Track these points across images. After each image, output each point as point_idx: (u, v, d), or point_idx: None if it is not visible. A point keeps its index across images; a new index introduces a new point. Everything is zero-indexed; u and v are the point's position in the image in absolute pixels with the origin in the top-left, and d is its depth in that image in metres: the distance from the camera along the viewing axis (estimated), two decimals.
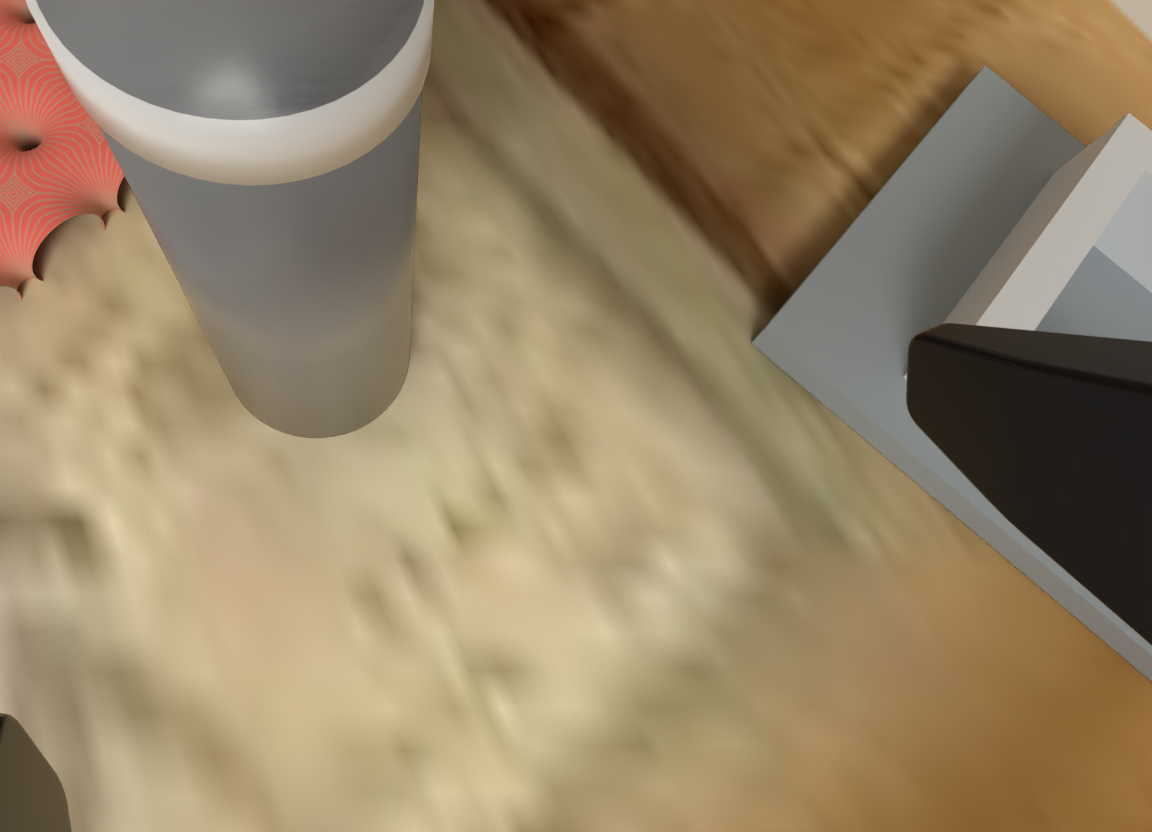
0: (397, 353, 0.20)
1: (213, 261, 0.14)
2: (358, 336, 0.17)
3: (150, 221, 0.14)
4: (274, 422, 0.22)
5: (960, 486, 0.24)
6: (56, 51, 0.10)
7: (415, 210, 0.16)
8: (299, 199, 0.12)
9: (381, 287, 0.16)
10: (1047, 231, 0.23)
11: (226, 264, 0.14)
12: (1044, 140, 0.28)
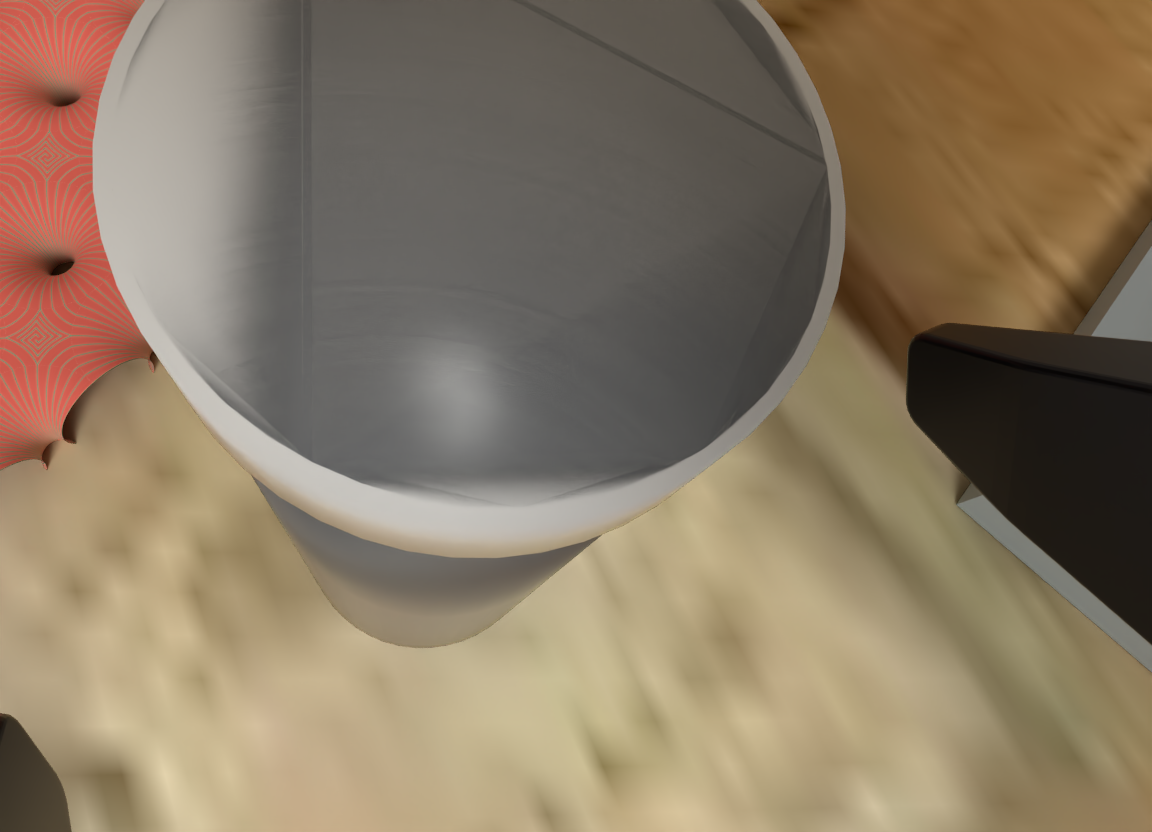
0: None
1: (372, 575, 0.09)
2: (531, 592, 0.12)
3: (270, 504, 0.09)
4: (376, 635, 0.17)
5: None
6: (172, 374, 0.05)
7: None
8: None
9: None
10: None
11: (396, 581, 0.09)
12: None
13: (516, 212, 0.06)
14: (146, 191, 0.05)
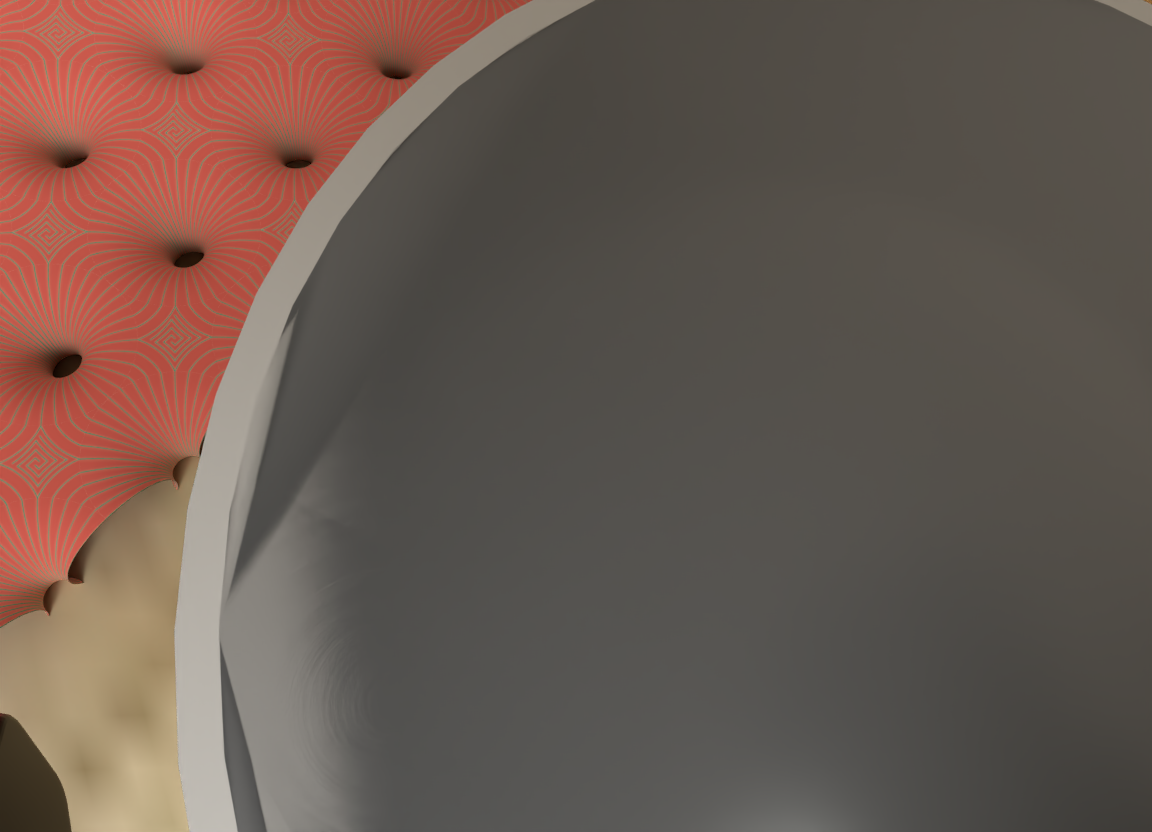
0: None
1: None
2: None
3: None
4: None
5: None
6: None
7: None
8: None
9: None
10: None
11: None
12: None
13: (1084, 713, 0.03)
14: (305, 749, 0.02)
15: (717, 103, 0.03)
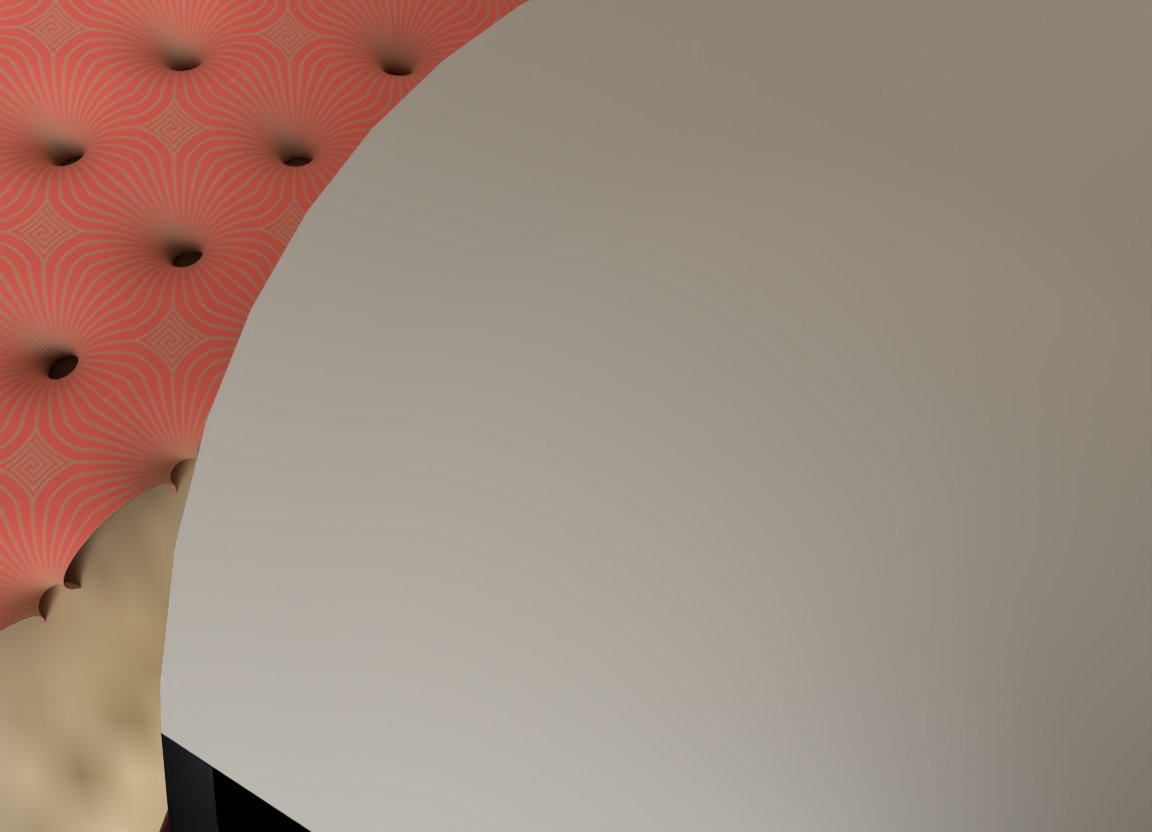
0: None
1: None
2: None
3: None
4: None
5: None
6: None
7: None
8: None
9: None
10: None
11: None
12: None
13: None
14: (305, 817, 0.02)
15: (747, 101, 0.03)
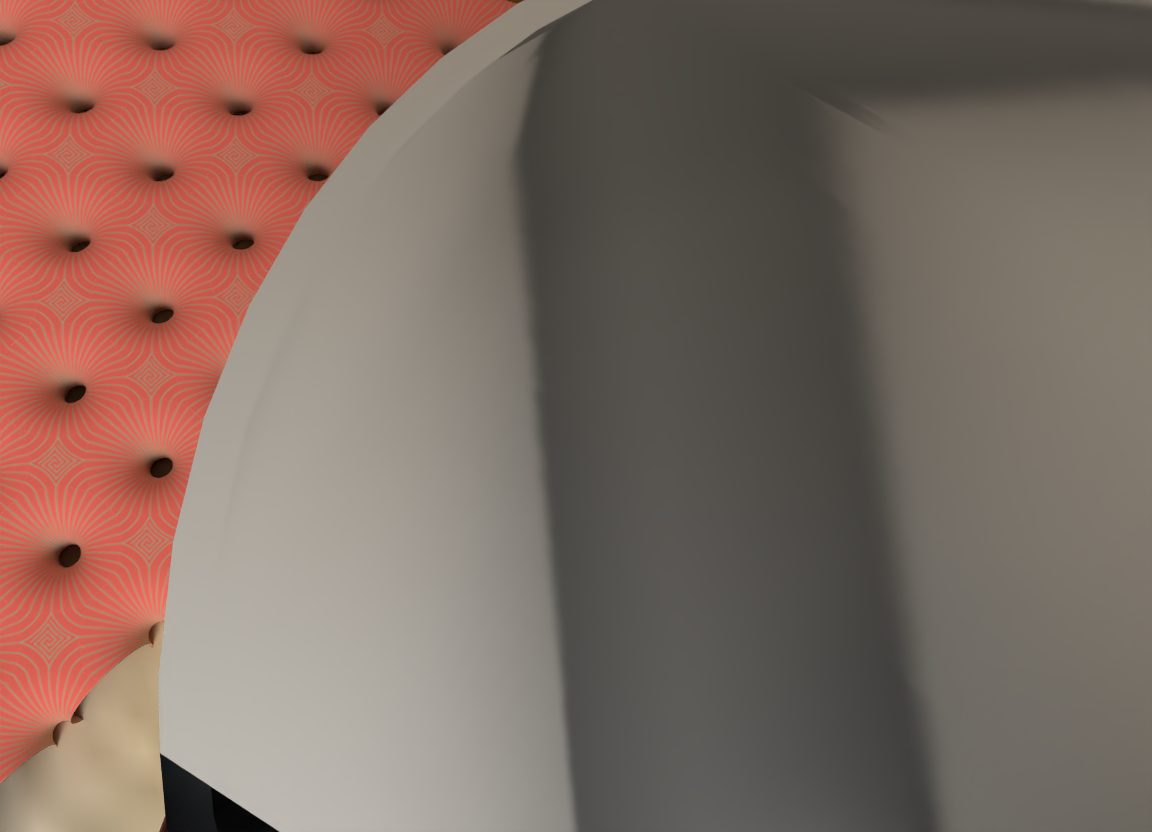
0: None
1: None
2: None
3: None
4: None
5: None
6: None
7: None
8: None
9: None
10: None
11: None
12: None
13: (1143, 755, 0.02)
14: (303, 809, 0.02)
15: (743, 99, 0.03)
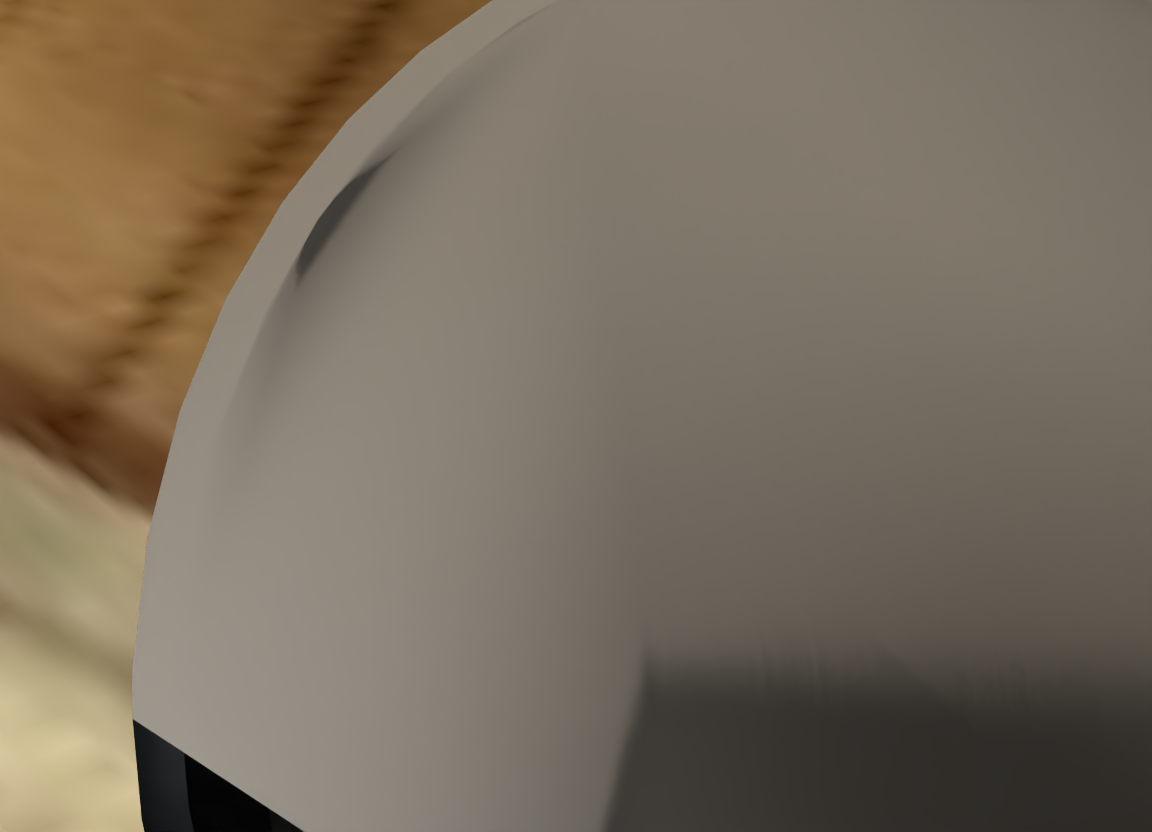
0: None
1: None
2: None
3: None
4: None
5: None
6: None
7: None
8: None
9: None
10: None
11: None
12: None
13: (1128, 754, 0.02)
14: (273, 801, 0.02)
15: (727, 91, 0.03)
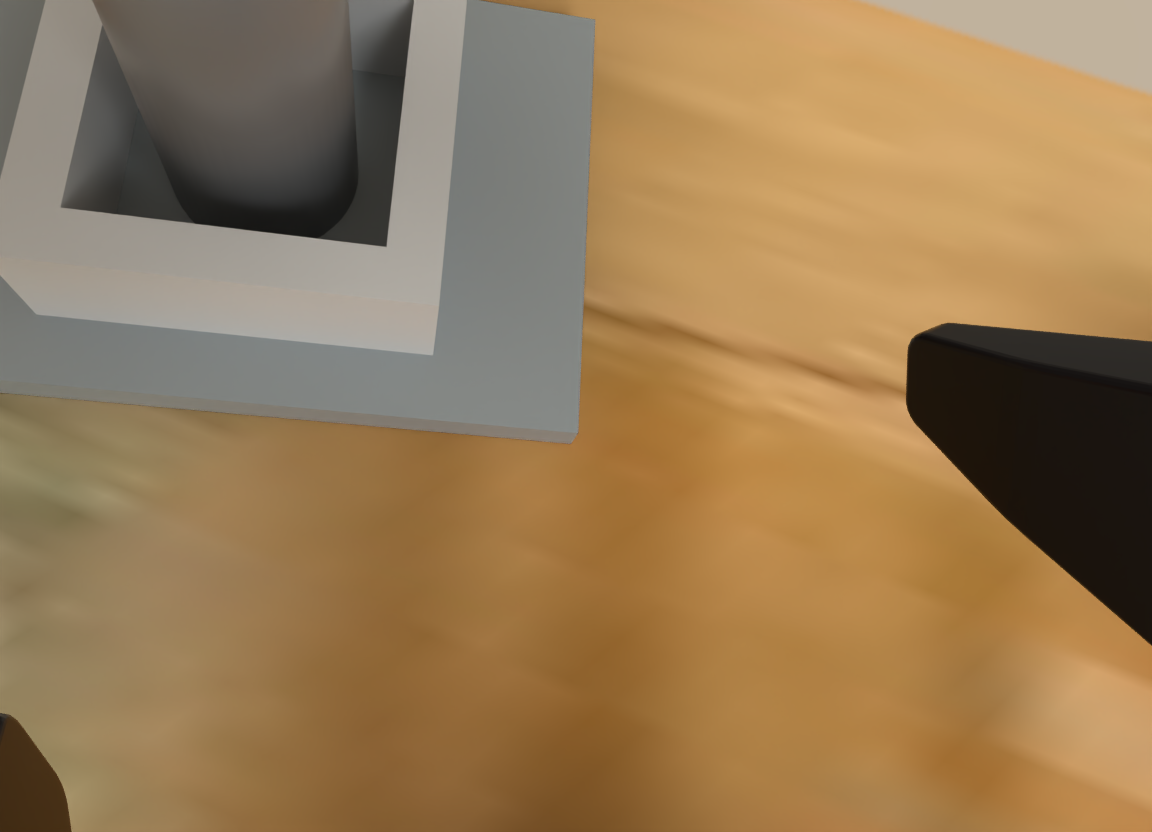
0: (338, 148, 0.20)
1: None
2: (288, 96, 0.17)
3: None
4: None
5: (159, 386, 0.21)
6: None
7: None
8: None
9: (308, 30, 0.16)
10: (29, 84, 0.19)
11: None
12: None
13: None
14: None
15: None
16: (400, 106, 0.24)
